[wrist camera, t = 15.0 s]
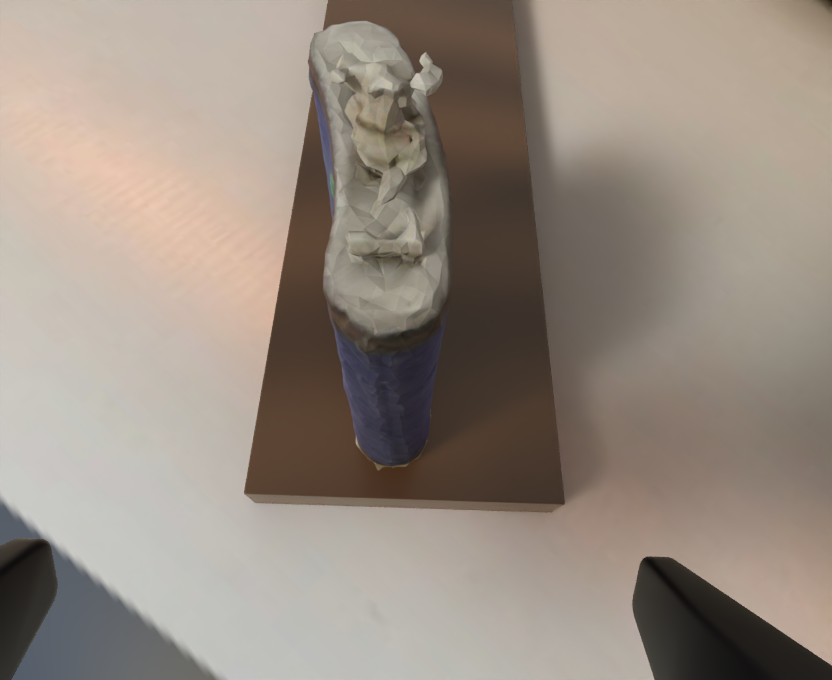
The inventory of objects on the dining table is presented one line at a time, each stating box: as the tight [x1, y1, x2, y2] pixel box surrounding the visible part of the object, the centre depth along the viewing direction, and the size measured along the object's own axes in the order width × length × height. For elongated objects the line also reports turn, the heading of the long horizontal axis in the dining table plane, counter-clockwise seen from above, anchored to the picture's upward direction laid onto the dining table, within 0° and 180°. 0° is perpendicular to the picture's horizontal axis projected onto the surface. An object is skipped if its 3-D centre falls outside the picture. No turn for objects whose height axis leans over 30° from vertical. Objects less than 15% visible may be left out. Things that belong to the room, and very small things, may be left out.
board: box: [244, 0, 565, 512], centre depth 26 cm, size 40×10×2 cm, turn 179°
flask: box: [308, 21, 453, 471], centre depth 14 cm, size 9×3×11 cm, turn 8°
